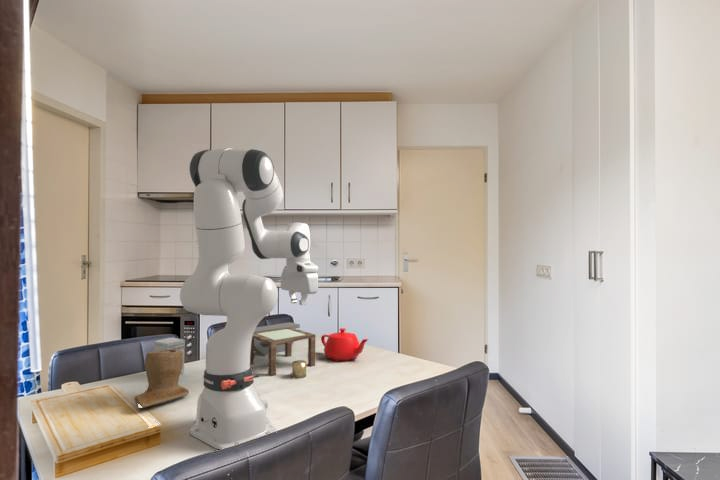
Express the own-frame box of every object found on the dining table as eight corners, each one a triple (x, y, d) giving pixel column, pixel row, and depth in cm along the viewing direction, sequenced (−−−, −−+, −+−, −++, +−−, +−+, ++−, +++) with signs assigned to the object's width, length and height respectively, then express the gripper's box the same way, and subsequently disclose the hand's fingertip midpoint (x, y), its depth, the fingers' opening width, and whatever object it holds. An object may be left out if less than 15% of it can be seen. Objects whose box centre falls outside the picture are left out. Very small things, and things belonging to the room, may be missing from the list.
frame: (315, 365, 151) (315, 334, 151) (271, 375, 138) (271, 342, 138) (289, 355, 166) (289, 327, 166) (246, 363, 153) (247, 333, 153)
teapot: (309, 357, 163) (309, 328, 163) (332, 349, 176) (333, 322, 176) (357, 367, 148) (357, 336, 149) (378, 358, 161) (378, 329, 161)
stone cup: (175, 389, 125) (176, 342, 125) (194, 397, 117) (195, 348, 118) (123, 403, 113) (125, 352, 113) (141, 414, 106) (142, 359, 106)
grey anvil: (289, 345, 183) (290, 322, 183) (299, 348, 178) (299, 324, 178) (241, 355, 165) (241, 329, 166) (250, 358, 160) (250, 332, 160)
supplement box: (152, 376, 137) (153, 340, 137) (171, 370, 143) (172, 336, 144) (166, 380, 133) (167, 343, 134) (184, 373, 140) (185, 339, 140)
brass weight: (309, 376, 138) (309, 362, 138) (297, 379, 135) (297, 365, 135) (301, 373, 142) (301, 359, 142) (289, 375, 138) (289, 362, 139)
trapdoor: (305, 337, 152) (305, 334, 152) (274, 342, 142) (274, 339, 142) (287, 331, 162) (287, 328, 162) (256, 336, 153) (256, 333, 153)
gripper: (276, 265, 147) (276, 301, 147) (306, 268, 132) (306, 308, 131) (290, 265, 151) (290, 300, 151) (321, 267, 136) (321, 306, 136)
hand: (298, 304), depth 141 cm, fingers open, 5 cm apart
